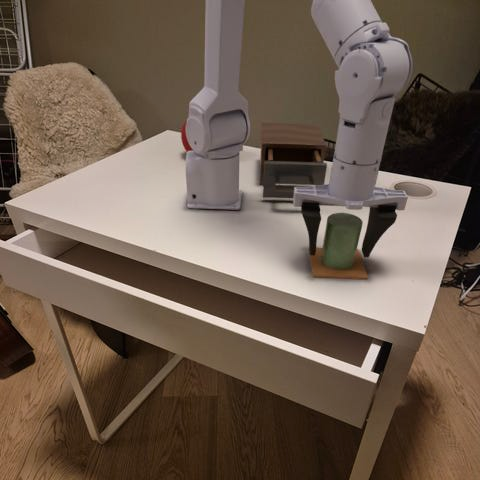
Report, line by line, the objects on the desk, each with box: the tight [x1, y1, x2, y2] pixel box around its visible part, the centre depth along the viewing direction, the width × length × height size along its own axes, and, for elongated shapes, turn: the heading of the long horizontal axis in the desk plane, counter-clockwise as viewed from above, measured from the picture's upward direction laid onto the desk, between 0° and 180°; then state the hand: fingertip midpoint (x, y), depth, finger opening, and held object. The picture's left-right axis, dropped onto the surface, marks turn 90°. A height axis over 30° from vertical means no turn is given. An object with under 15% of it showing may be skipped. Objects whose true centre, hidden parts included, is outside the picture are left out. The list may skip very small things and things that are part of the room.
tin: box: [321, 212, 364, 270], centre depth 59 cm, size 5×5×6 cm
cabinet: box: [259, 122, 327, 186], centre depth 86 cm, size 14×12×8 cm
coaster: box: [308, 247, 368, 280], centre depth 61 cm, size 8×8×1 cm
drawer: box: [262, 147, 328, 199], centre depth 78 cm, size 17×11×6 cm, turn 177°
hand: (338, 252), depth 60 cm, fingers open, 7 cm apart
